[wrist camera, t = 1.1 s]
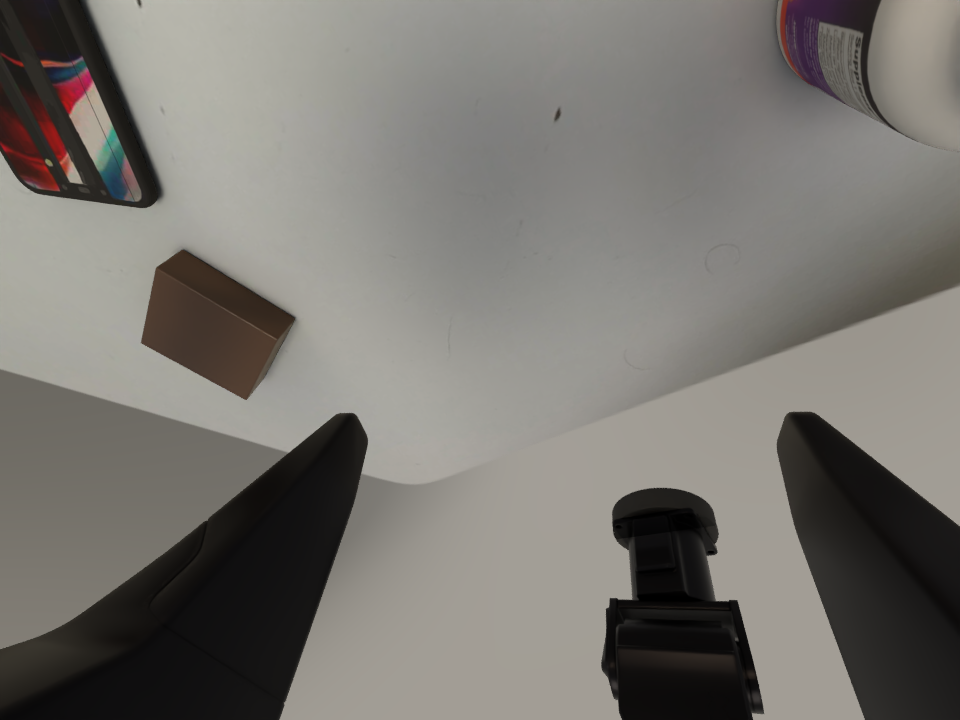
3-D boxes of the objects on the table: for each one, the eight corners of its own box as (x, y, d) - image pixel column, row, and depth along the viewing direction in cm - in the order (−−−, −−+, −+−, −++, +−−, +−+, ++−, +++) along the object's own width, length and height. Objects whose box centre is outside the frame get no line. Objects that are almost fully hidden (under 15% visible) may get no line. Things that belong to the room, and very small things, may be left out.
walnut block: (295, 318, 25) (277, 340, 24) (263, 378, 29) (246, 400, 28) (182, 248, 24) (155, 267, 22) (164, 323, 28) (139, 343, 26)
